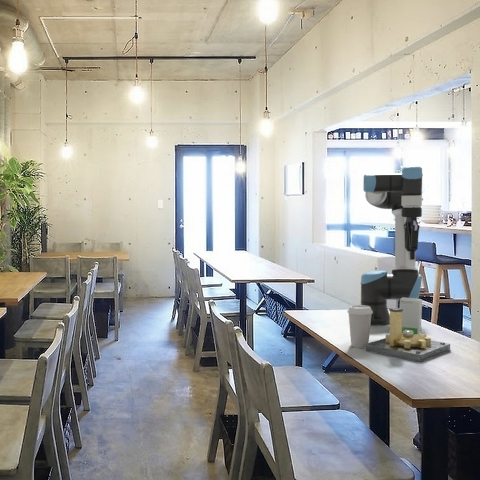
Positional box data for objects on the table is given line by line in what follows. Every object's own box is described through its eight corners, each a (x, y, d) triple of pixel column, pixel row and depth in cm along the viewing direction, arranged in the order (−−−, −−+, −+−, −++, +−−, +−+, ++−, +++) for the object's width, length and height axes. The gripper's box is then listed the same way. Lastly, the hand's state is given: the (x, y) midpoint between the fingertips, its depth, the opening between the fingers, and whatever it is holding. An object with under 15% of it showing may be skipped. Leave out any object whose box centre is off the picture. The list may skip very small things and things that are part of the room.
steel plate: (397, 340, 230) (397, 322, 230) (450, 350, 215) (450, 330, 214) (365, 350, 215) (365, 331, 214) (420, 362, 199) (420, 341, 199)
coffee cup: (373, 343, 226) (374, 305, 225) (371, 349, 217) (371, 309, 216) (349, 341, 229) (349, 304, 228) (345, 347, 220) (345, 308, 219)
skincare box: (398, 337, 236) (398, 299, 235) (400, 334, 242) (401, 296, 241) (419, 339, 232) (419, 300, 231) (421, 335, 238) (422, 298, 237)
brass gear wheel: (408, 336, 225) (409, 302, 224) (440, 345, 211) (440, 309, 210) (376, 341, 218) (377, 306, 217) (406, 350, 204) (407, 313, 203)
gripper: (427, 207, 217) (426, 269, 218) (416, 206, 231) (415, 265, 233) (406, 207, 217) (406, 269, 218) (397, 206, 231) (396, 265, 233)
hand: (410, 267), depth 226 cm, fingers closed
